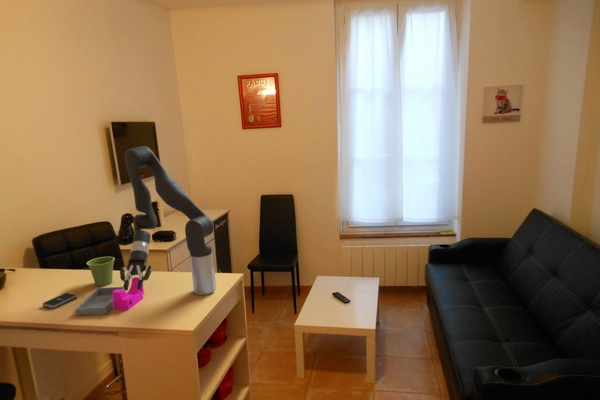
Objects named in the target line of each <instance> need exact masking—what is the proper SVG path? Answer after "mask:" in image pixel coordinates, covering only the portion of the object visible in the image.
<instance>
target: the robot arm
mask: <svg viewBox="0 0 600 400" xmlns="http://www.w3.org/2000/svg"><path fill="white" fill-rule="evenodd" d="M124 162H125V166H126V170H127V174H128V176H129V180H130V183H131V186H132V190H133V197H134V206H135V209H136V211H138V212H139V213H140V212H141V213H142V214H141V213H140V214H136V215H135V216H134V217H133V220H132V222H133V233H134V235H133V239H132V240H133V241H132V245H131V248H130V253H129V258H128V263H127V265H126V266H124V267H123V266H120V267H119V277H120V280H121V281H122V282H123V286H122V287H123V288H124V289H125V292H126V291H129V288H130V287H129V285H130V281H131V280H132V279H133V278H134V277H133V276H138V278H139V280H138V286H137V289H138V290H140V289H141V288H142V285H143V286H144V282H145V281H148V280H149V279H150V276H151V274H152V271H153V267H152V265H147V263H148V257H149V251H150V243H151V237H152V236H151V233H150V232H149V231H145V230H153V229H156V228H157V226H158V219H157V215H156V214H155V211H154V208H153V206H152V205H153V204H152V195H151V191H150V190H149V188H148V186H147V185H146V184H145V183H144V181H143V180H142V177H141V175H140V169H142V168H147V169H149V171H150V172H151V174H152V176H153V177H154V187H155V191H156V193H157V194H158V196H159V197H160V198H161V200H162V201H163V202H164V203H165V204H166V205H167V206H169V207H171V208H173V209H174V210H176V211H178V212H180V213H182V214H183V215H185V217H187V218H188V221H187V222H186V224H185V228H184V232H185V233H184V234H185V239H186V244H187V245H186V246H187V247H186V248H187V249H188V251H189V254H190V256H189V257H190V267H191V276H192V277H191V278H192V287H193V288H192V289H193V293H194V295H197V296H203V295H204V296H205V295H210V294H214V293H215V291H216V288H217V285H216V284H217V283H216V272H215V270H216V269H215V267H214V261H213V250H212V249H213V248H212V246H211V245H210V244H207V243H205V238H206V237H209V236H211V235H212V234H213V233H214V231H215V226H214V223H213V221H212V220H211V218H210V217H209V216H208V214H206V213H205V212H204V211H203V210H201V208H199V207H198V205H196V203H195V202H194V201H193V200H192V199H191V198H190V197H189V196H188V195H187V193H186V192H185V191H184V190H183V189H182V187H181V186H180V185H179V184H178V182H177V181H176V180H175V179H174V178H173V177H172V176H171V175H170V173H169V172H168V171H167V170H166V169H165V167H164V166H163V165H162V163H161V162H160V160H159V159H158V157H157V156H156V155H155V153H154V152H153V150H151V148H150V147H149V146H146V145H141V146H136V147H132V148H128V149H127V150H126V151H125V153H124ZM143 213H144V214H143ZM144 271H145V273H144Z"/></svg>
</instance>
